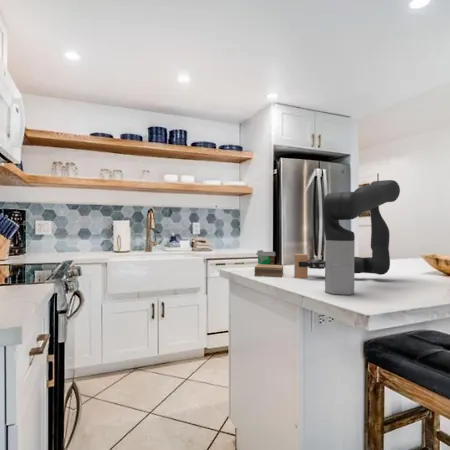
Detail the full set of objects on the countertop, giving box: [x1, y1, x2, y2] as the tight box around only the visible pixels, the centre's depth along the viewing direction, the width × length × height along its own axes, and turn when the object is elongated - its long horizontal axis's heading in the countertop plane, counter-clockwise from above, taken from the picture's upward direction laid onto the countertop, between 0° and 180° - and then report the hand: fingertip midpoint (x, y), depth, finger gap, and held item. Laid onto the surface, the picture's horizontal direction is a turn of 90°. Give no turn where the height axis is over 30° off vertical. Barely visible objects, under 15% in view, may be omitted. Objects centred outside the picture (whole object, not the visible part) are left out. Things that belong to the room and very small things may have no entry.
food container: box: [256, 250, 276, 265], centre depth 165 cm, size 12×6×10 cm, turn 25°
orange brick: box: [293, 253, 309, 279], centre depth 145 cm, size 6×6×10 cm
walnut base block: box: [254, 263, 284, 278], centre depth 152 cm, size 12×12×4 cm
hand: (298, 263), depth 145 cm, fingers open, 8 cm apart
